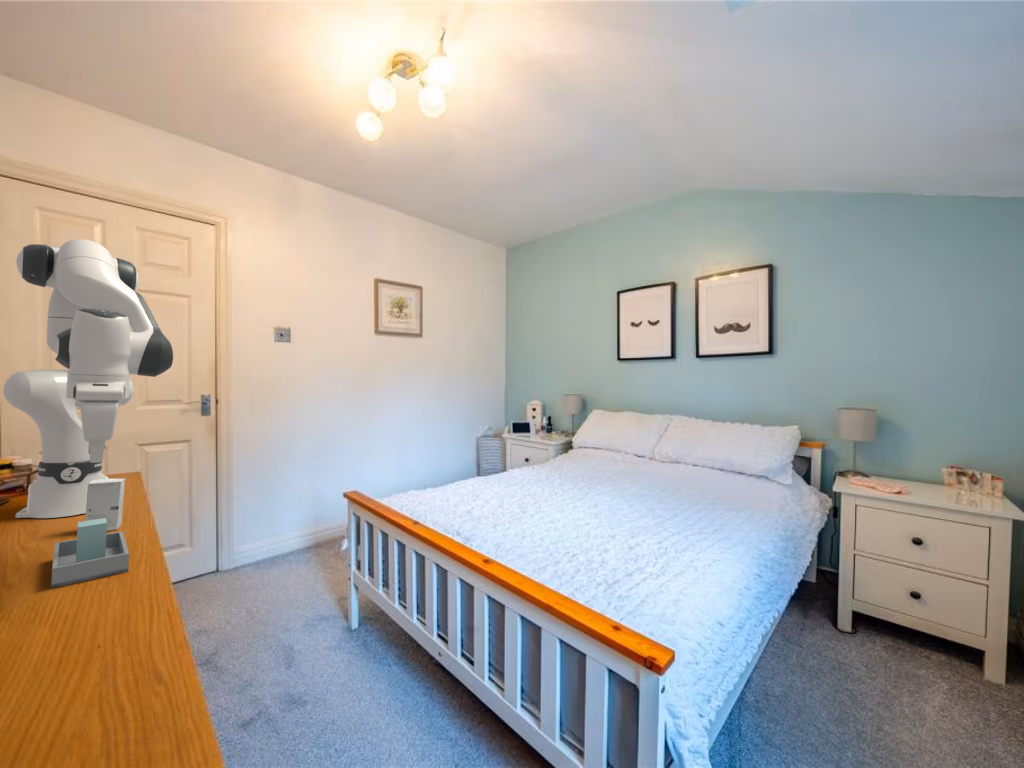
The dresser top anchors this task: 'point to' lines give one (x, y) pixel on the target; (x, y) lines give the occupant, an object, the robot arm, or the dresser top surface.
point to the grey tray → (73, 572)
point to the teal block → (91, 540)
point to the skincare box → (105, 501)
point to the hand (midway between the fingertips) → (95, 458)
